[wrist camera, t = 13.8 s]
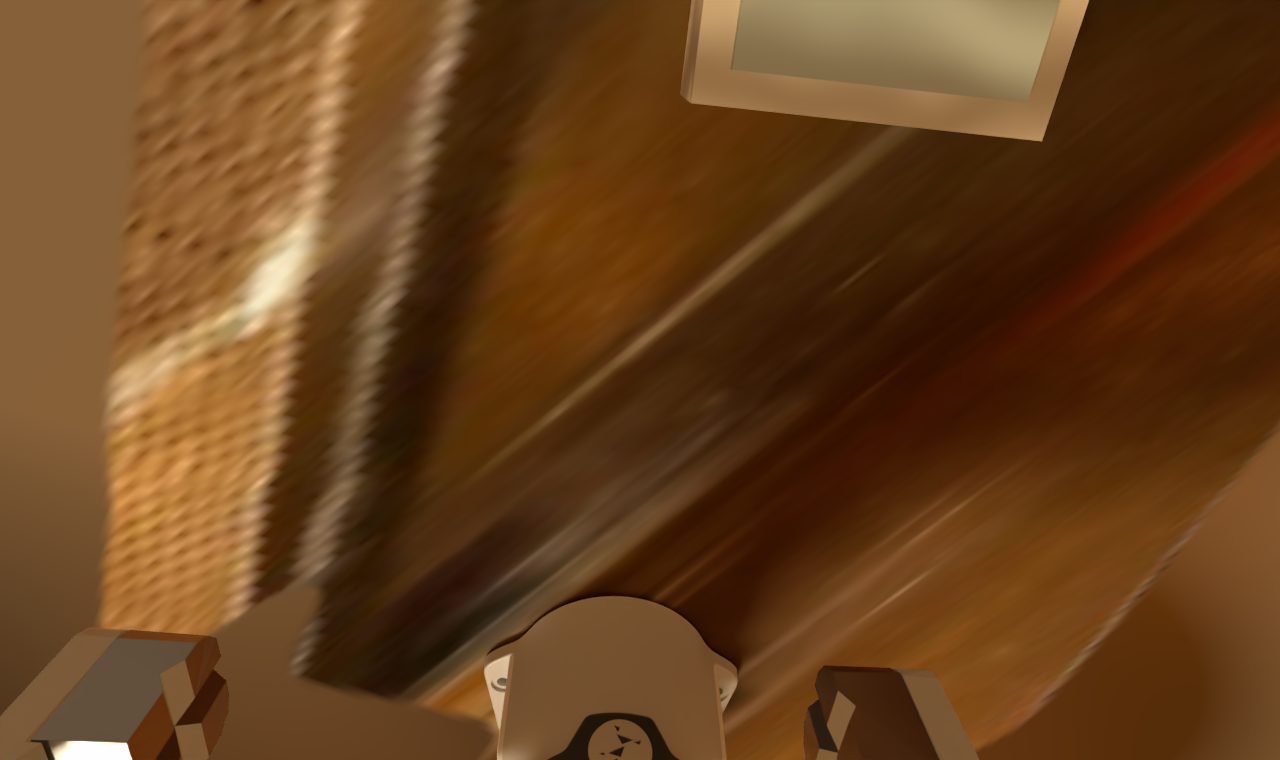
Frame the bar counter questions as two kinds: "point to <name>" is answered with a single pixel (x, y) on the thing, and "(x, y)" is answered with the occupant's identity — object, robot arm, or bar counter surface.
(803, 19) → the tan square lid
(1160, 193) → the bar counter surface
